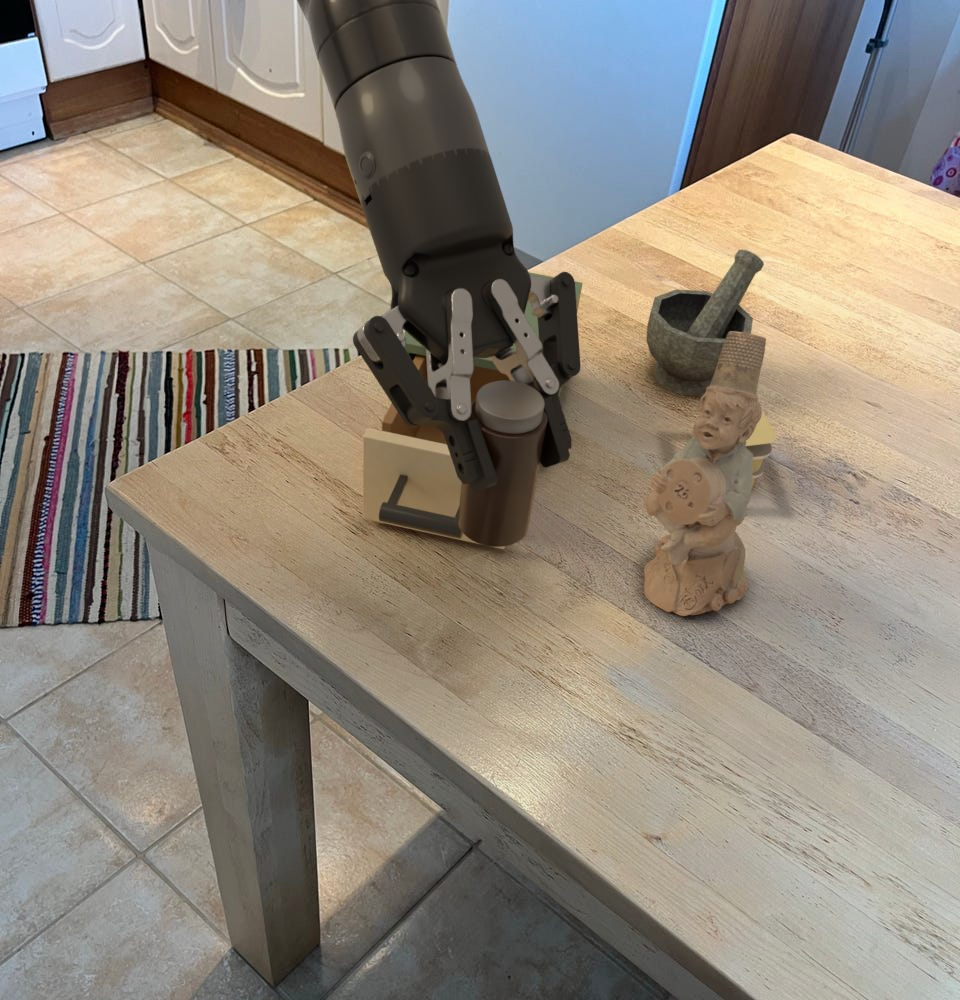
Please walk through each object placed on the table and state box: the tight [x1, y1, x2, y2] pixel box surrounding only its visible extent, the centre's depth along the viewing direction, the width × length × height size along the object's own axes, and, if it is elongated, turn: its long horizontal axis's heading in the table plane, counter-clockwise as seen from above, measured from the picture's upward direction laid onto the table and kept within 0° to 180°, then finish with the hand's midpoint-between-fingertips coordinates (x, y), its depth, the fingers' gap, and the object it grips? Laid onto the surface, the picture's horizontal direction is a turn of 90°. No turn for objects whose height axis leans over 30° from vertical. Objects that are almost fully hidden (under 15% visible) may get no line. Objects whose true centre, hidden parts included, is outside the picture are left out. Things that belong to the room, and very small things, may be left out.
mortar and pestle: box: [645, 249, 765, 397], centre depth 92 cm, size 11×9×12 cm
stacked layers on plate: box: [746, 409, 777, 490], centre depth 84 cm, size 10×9×6 cm
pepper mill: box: [458, 381, 547, 548], centre depth 57 cm, size 4×4×9 cm
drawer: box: [361, 354, 510, 550], centre depth 76 cm, size 19×11×8 cm, turn 167°
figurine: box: [643, 331, 767, 617], centre depth 69 cm, size 9×8×20 cm
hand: (520, 474), depth 56 cm, fingers closed on pepper mill, 4 cm apart
